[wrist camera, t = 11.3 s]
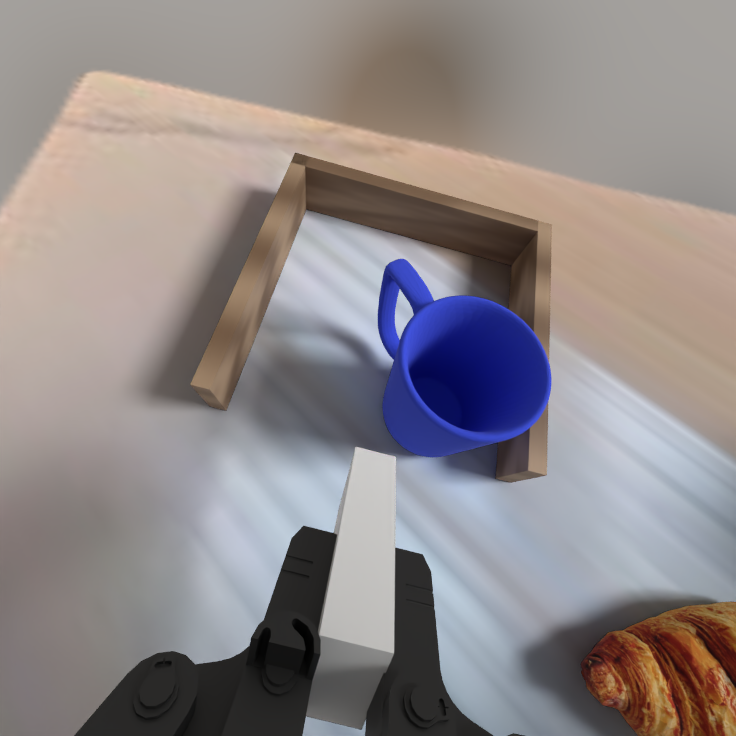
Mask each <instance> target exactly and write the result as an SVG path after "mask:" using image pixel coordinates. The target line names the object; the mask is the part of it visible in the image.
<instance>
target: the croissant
mask: <svg viewBox="0 0 736 736" xmlns="http://www.w3.org/2000/svg"><path fill="white" fill-rule="evenodd" d="M581 668H582V671H581V673H582V676H583V678H584V680H585V681H586V687H587V689H588V690H589V691H590V693H591V694H592V695H593V696H594V697H595V698H596V699H597V700H598V701H599V702H600V703H601V704H602V705H604V706H609V707H614V708H616V709H618V710H619V711H620V713H621V714H622V716H623V717H624V719H625V720H626V722H627V723H628V724H629V725H630V727H631V728H632V729H633V730H634V731H635V732H636V733H637V735H638V736H736V602H720V603H714V604H711V605H709V604H705V605H703V604H701V605H692V606H684V607H682V608H679V609H674V610H670V611H667V612H664V613H661V614H660V615H658V616H657V617H651V618H648V619H646V620H644V621H642V622H639V623H637V624H634V625H632V626H630V627H627V628H626V629H624V630H620V631H612V632H608V633H607V634H606V635H605V637H604V638H603V639H601V640H600V641H599V642H598V643H597V644H596V645H595V647H594V648H593V650H592V651H591V653H589V654H588V655H587V656H586V657H585V658H584V659H583V661H582V662H581Z"/></svg>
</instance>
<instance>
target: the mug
mask: <svg viewBox="0 0 736 736" xmlns="http://www.w3.org/2000/svg"><path fill="white" fill-rule="evenodd" d="M399 289H401V291H402V292H403V294H404V295H405V297H406V298H407V300H408V301H409V303H410V305H411V307H412V309H413V313H414V316H413V317H412V318H411V320H410V321H409V322H408V324H407V325H406V327H405V329H404V331H403V333H402V336H401V339H400V340H399V338H398V335H397V333H396V329H395V307H396V302H397V297H398V293H399ZM378 329H379V334H380V338H381V340H382V343H383V345H384V347H385V349H386V350H387V352H388V354H389V355H390V356H391V357H392V358H393V359H394V362H393V366H392V369H391V372H390V376H389V379H388V382H387V386H386V389H385V393H384V397H383V416H384V420H385V423H386V426H387V428H388V430H389V432H390V434H391V435H392V436H393V438H394V439H395V440H396V441H397V442H398V443H399V444H400V445H401V446H402V447H404V448H405V449H407V450H409V451H410V452H412V453H415V454H417V455H420V456H425V457H442V456H447V455H451V454H455V453H459V452H463V451H466V450H470V449H474V448H478V447H482V446H486V445H490V444H493V443H497V442H501V441H505V440H508V439H511V438H514V437H516V436H518V435H520V434H522V433H524V432H525V431H526V430H528V429H529V428H530V427H531V426H532V425H533V424H534V423H536V421H537V420H538V419H539V418H540V416H541V415H542V413H543V411H544V410H545V407H546V405H547V403H548V400H549V396H550V391H551V371H550V366H549V362H548V358H547V355H546V353H545V350H544V348H543V346H542V344H541V342H540V341H539V339H538V338H537V336H536V335H535V333H534V332H533V331H532V329H531V328H530V327H529V326H528V325H527V324H526V323H525V322H524V321H523V320H522V319H521V318H520V317H518V316H517V315H516V314H515V313H513V312H512V311H510V310H509V309H507V308H505V307H503V306H502V305H500V304H497V303H495V302H493V301H490V300H487V299H484V298H479V297H474V296H451V297H446V298H442V299H439V300H436V301H434V300H433V298H432V295H431V293H430V291H429V290H428V288H427V286H426V285H425V283H424V282H423V280H422V279H421V277H420V276H419V275H418V273H417V272H416V270H415V269H414V268H413V267H412V266H411V264H410V263H409V262H408V261H407V260H405V259H398V260H395V261H393V262H391V263H389V264H388V265H387V266H386V268H385V271H384V275H383V280H382V286H381V292H380V297H379V307H378Z"/></svg>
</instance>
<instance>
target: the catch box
mask: <svg viewBox="0 0 736 736" xmlns="http://www.w3.org/2000/svg"><path fill="white" fill-rule="evenodd" d="M306 209H308V210H311V211H315V212H319V213H322V214H326V215H330V216H333V217H337V218H340V219H344V220H348V221H351V222H355V223H359V224H362V225H366V226H370V227H373V228H377V229H380V230H384V231H388V232H391V233H395V234H399V235H402V236H406V237H410V238H413V239H417V240H421V241H424V242H428V243H431V244H435V245H439V246H442V247H446V248H450V249H453V250H457V251H461V252H464V253H468V254H471V255H475V256H479V257H482V258H486V259H490V260H493V261H497V262H501V263H504V264H508V265H511V266H512V267H511V280H510V293H509V306H508V309H509V310H510V311H512V312H513V313H515V314H516V315H517V316H518V317H520V318H521V319H522V320H523V321H524V322H525V323H526V324H527V325H528V326H529V327H530V328H531V329H532V331H533V332H534V333H535V335H536V336H537V338H538V339H539V341H540V342H541V344H542V346H543V348H544V350H545V353H546V355H547V358H548V362H549V335H550V286H551V237H552V225H551V224H548V223H544V222H541V221H537V220H534V219H530V218H526V217H523V216H519V215H516V214H512V213H509V212H505V211H501V210H498V209H494V208H491V207H487V206H484V205H480V204H476V203H473V202H469V201H466V200H462V199H459V198H455V197H452V196H448V195H444V194H441V193H437V192H434V191H430V190H427V189H423V188H419V187H416V186H412V185H409V184H405V183H402V182H398V181H394V180H391V179H387V178H384V177H380V176H377V175H373V174H369V173H366V172H362V171H359V170H355V169H352V168H348V167H344V166H341V165H337V164H334V163H330V162H327V161H323V160H319V159H316V158H312V157H309V156H305V155H302V154H298V153H295V155H294V157H293V159H292V161H291V163H290V166H289V168H288V170H287V172H286V174H285V177H284V179H283V181H282V183H281V185H280V188H279V190H278V192H277V194H276V196H275V199H274V201H273V203H272V205H271V207H270V210H269V212H268V214H267V216H266V218H265V221H264V223H263V225H262V227H261V229H260V232H259V234H258V236H257V238H256V240H255V243H254V245H253V247H252V249H251V252H250V254H249V256H248V258H247V260H246V263H245V265H244V267H243V269H242V271H241V274H240V276H239V278H238V280H237V282H236V285H235V287H234V289H233V291H232V293H231V296H230V298H229V300H228V302H227V304H226V307H225V309H224V311H223V313H222V315H221V318H220V320H219V322H218V324H217V326H216V329H215V331H214V333H213V335H212V338H211V340H210V342H209V344H208V346H207V349H206V351H205V353H204V355H203V357H202V360H201V362H200V364H199V366H198V368H197V371H196V373H195V375H194V377H193V379H192V382H191V384H190V385H191V386H192V387H193V388H194V389H195V391H196V392H197V393H198V394H199V395H200V396H201V397H202V398H203V400H204V401H205V402H206V403H207V404H208V405H209V406H210V407H214V408H218V409H222V410H227V407H228V405H229V402H230V400H231V397H232V395H233V392H234V390H235V387H236V385H237V382H238V380H239V377H240V375H241V372H242V370H243V367H244V365H245V362H246V360H247V357H248V355H249V352H250V349H251V347H252V344H253V342H254V339H255V337H256V334H257V332H258V329H259V327H260V324H261V322H262V319H263V317H264V314H265V312H266V309H267V307H268V304H269V302H270V299H271V297H272V294H273V292H274V289H275V287H276V284H277V282H278V279H279V277H280V274H281V271H282V269H283V266H284V264H285V261H286V259H287V256H288V254H289V251H290V249H291V246H292V244H293V241H294V239H295V236H296V234H297V231H298V229H299V226H300V224H301V221H302V219H303V216H304V214H305V211H306ZM547 434H548V403H547V405H546V407H545V410H544V411H543V413H542V415H541V416H540V418H539V419H538V420H537V421H536V423H534V424H533V425H532V426H531V427H530V428H529V429H528V430H526V431H525V432H524V433H522V434H520V435H518V436H516V437H514V438H511V439H508V440H505V441H501V442H498V451H497V464H496V478H495V479H499V480H503V481H507V482H516V481H521V480H526V479H531V478H536V477H540V476H545V475H547Z"/></svg>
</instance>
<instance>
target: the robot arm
mask: <svg viewBox="0 0 736 736" xmlns="http://www.w3.org/2000/svg"><path fill="white" fill-rule="evenodd" d="M395 513H396V457H394V456H390V455H386V454H382V453H379V452H375V451H371V450H367V449H363V448H359V447H356V448H355V451H354V455H353V458H352V462H351V466H350V469H349V473H348V477H347V480H346V484H345V487H344V491H343V495H342V498H341V502H340V506H339V510H338V515H337V520H336V525H335V529H334V533H330V532H326V531H322V530H318V529H314V528H310V527H307V526H303V527H302V528H301V529H300V530H299V531H298V532H297V533H296V534H295V535H294V536H293V537H292V539H291V542H290V545H289V548H288V551H287V554H286V557H285V560H284V562H283V565H282V568H281V572H280V574H279V577H278V580H277V583H276V586H275V589H274V592H273V595H272V598H271V601H270V603H269V606H268V609H267V612H266V615H265V618H264V621H262V622H261V623H260V624H259V625H258V627H257V629H256V630H255V632H254V634H253V636H252V637H251V642H250V646H249V647H248V648H246V649H245V650H244V651H243V652H242V653H240V654H238V655H236V656H234V657H232V658H230V659H226V660H222V661H217V662H210V663H203V664H196V665H195V664H194V663H193V662H192V661H191V660H190V659H189V658H188V657H187V656H186V655H184V654H180V653H177V652H174V651H171V652H164V653H157V654H155V655H153V656H151V657H149V658H147V659H145V660H143V661H141V662H140V663H139V664H138V665H137V666H136V667H135V668H133V669H132V670H131V671H130V672H129V673H128V674H127V675H126V676H125V677H124V679H123V680H122V681H121V682H120V683H119V684H118V686H117V687H116V688H115V689H114V690H113V691H112V692H111V694H110V695H109V696H108V697H107V698H106V699H105V701H104V702H103V703H102V704H101V705H100V706H99V708H98V709H97V710H96V711H95V712H94V713H93V715H92V716H91V717H90V718H89V719H88V720H87V722H86V723H85V724H84V725H83V726H82V727H81V729H80V730H79V731H78V732H77V733H76V734H75V736H302V734H303V728H304V723H305V718H306V716H307V717H311V718H315V719H319V720H324V721H328V722H332V723H336V724H340V725H344V726H348V727H353V728H357V729H362V727H363V725H364V722H365V720H366V732H365V736H493V735H492V734H490V733H489V732H487V731H486V730H484V729H483V728H481V727H480V726H478V725H477V724H475V723H474V722H472V721H471V720H470V719H468V718H467V717H466V716H465V715H464V714H462V713H461V711H460V710H459V709H458V708H457V707H456V706H455V704H454V703H453V702H452V700H451V698H450V697H449V695H448V693H447V691H446V689H445V686H444V683H443V681H442V676H441V671H440V661H439V651H438V640H437V630H436V619H435V610H434V598H433V594H432V591H433V587H432V577H431V571H430V569H429V567H428V565H427V563H426V560H425V558H424V556H423V554H419V553H415V552H411V551H407V550H403V549H399V548H395ZM508 736H524V735H519V734H514V733H513V734H510V735H508Z"/></svg>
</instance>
